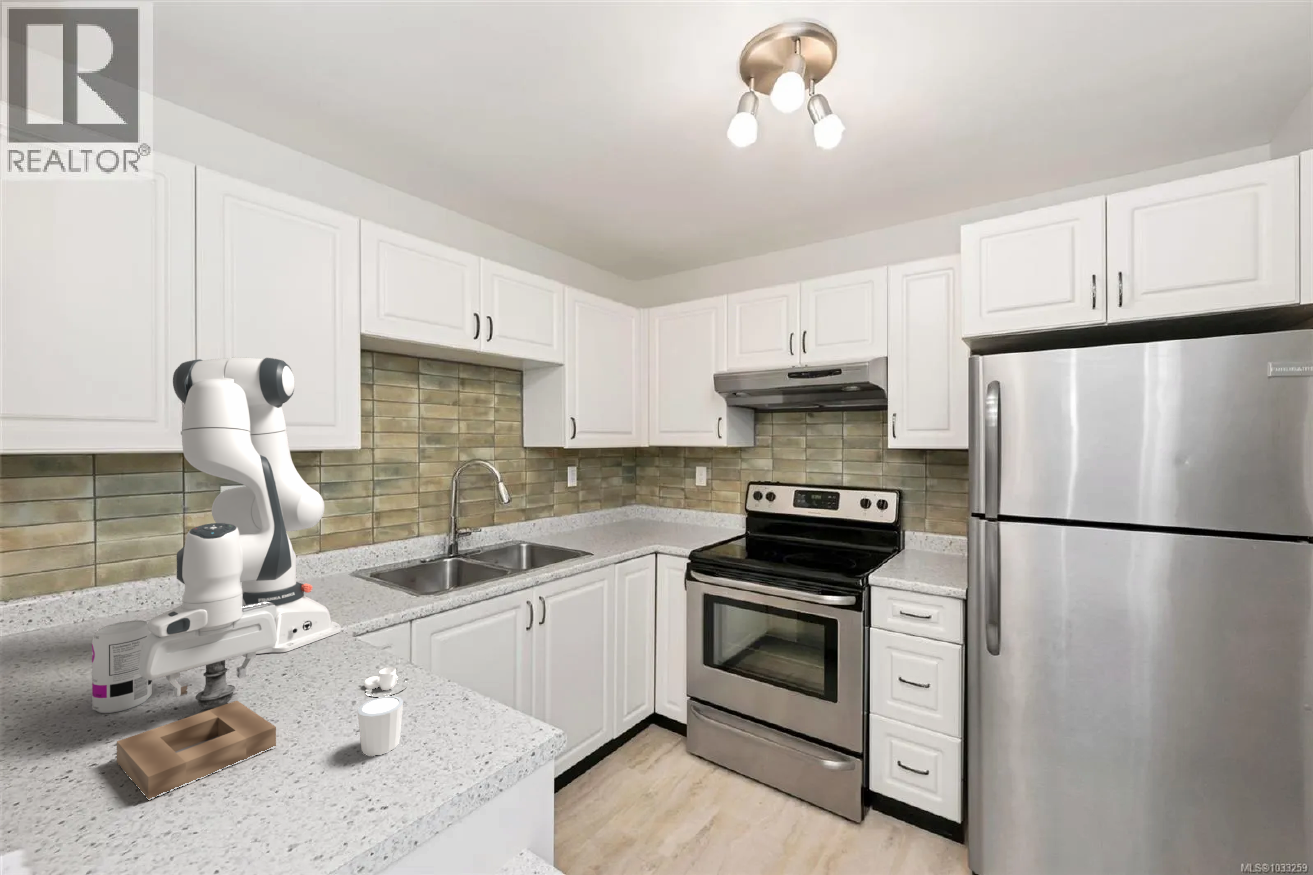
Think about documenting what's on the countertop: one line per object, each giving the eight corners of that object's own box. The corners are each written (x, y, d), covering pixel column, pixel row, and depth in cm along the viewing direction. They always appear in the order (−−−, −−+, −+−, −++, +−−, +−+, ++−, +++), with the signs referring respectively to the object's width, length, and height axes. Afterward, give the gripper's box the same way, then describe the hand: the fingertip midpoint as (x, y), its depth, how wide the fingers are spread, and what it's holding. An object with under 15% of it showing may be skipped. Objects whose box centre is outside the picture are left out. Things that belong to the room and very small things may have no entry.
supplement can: (80, 717, 101) (80, 636, 101) (111, 696, 109) (111, 621, 109) (134, 711, 103) (134, 632, 103) (161, 691, 111) (160, 617, 111)
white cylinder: (391, 730, 97) (391, 691, 97) (410, 745, 92) (410, 703, 92) (350, 748, 91) (350, 706, 91) (368, 764, 87) (368, 720, 87)
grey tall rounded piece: (213, 720, 100) (212, 655, 100) (186, 717, 101) (186, 652, 101) (243, 705, 106) (243, 642, 105) (218, 701, 107) (218, 640, 107)
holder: (237, 719, 100) (237, 700, 100) (276, 747, 91) (275, 726, 91) (116, 763, 87) (116, 741, 87) (148, 801, 78) (148, 777, 78)
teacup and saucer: (358, 689, 113) (358, 669, 113) (398, 677, 119) (398, 658, 119) (372, 704, 107) (372, 683, 107) (414, 690, 112) (414, 670, 112)
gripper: (269, 595, 113) (269, 662, 113) (135, 623, 96) (135, 702, 96) (282, 601, 110) (282, 670, 110) (146, 630, 93) (146, 712, 93)
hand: (212, 685), depth 103 cm, fingers open, 8 cm apart
